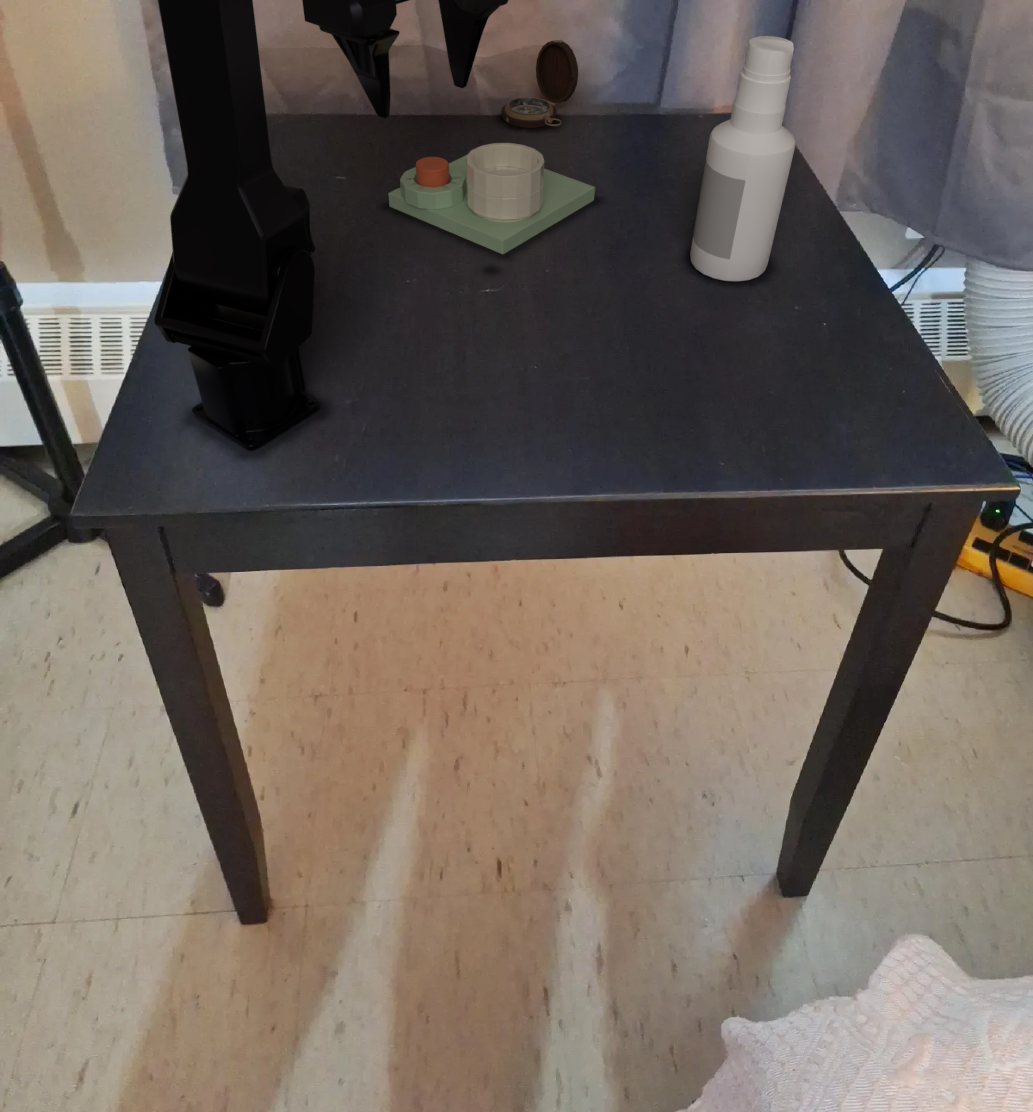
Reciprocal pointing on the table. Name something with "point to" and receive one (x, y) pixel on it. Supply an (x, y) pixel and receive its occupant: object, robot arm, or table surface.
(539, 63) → the compass
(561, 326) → the table surface
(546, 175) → the scale
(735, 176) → the white bottle
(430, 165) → the button
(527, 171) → the bowl
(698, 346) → the table surface
